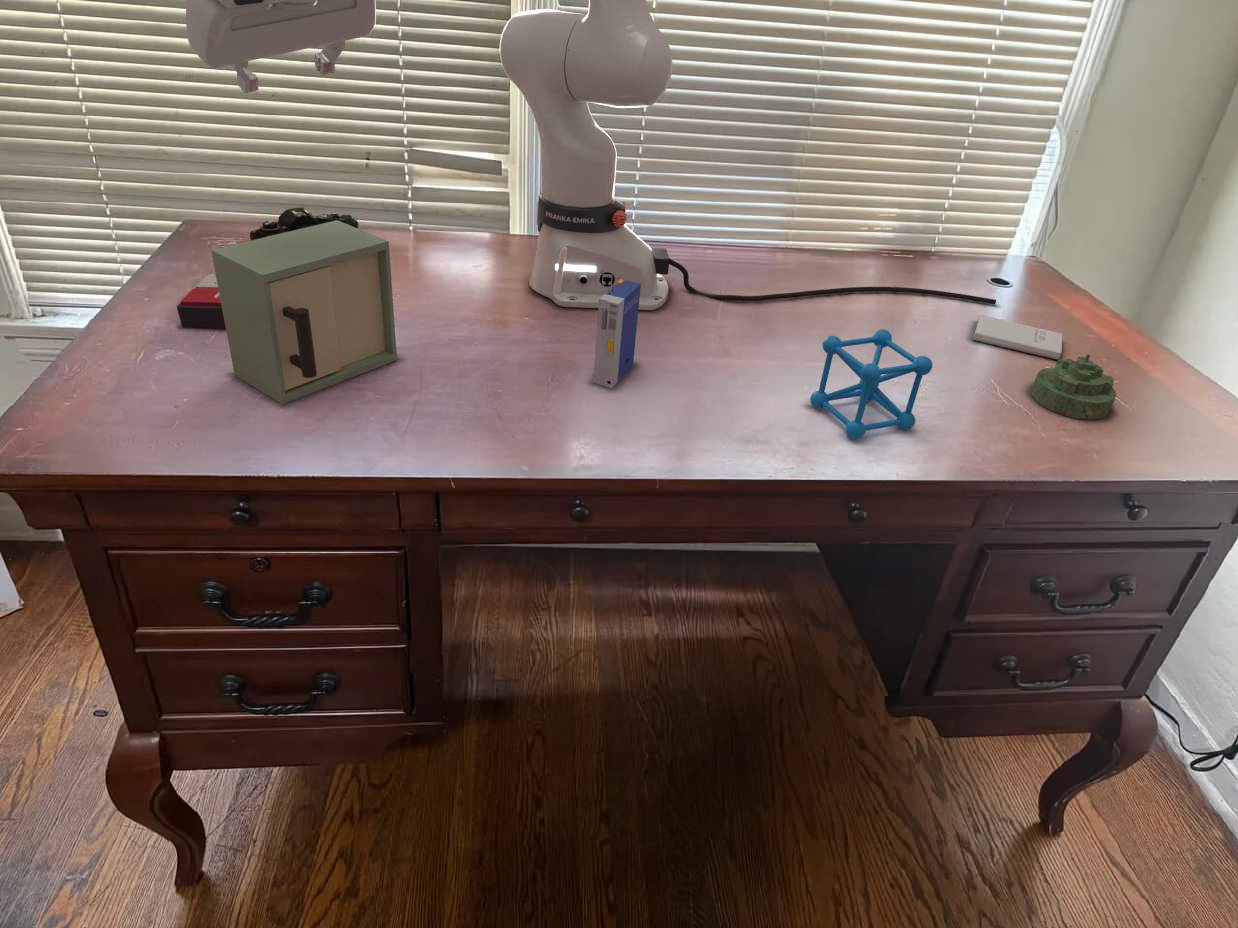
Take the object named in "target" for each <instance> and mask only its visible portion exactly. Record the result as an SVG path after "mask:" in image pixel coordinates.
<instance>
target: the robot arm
mask: <svg viewBox="0 0 1238 928" xmlns="http://www.w3.org/2000/svg"><path fill="white" fill-rule="evenodd" d="M376 3H377V2H376V0H185V23H186V25H185V26H186V35H187V41H188V44H189V46H190V47H191V49H192V51H193V52H194V53H195V54H196V55H197V56H198V58H199V59H200V60H201V61H202V62H203V63H205V64H206V65H207V66H209V67H210V68H212V69H218V68H222V67H226V66H231V67H232V68H233V69H234V71H235V72H236V78H237V79H236V81H237V82H236V83H237V85H238V87H239V88H240V90H241V91H242V92H243V93H245V94H248V93H252V92H257V91H259V86H258V85H259V77H258V76H257V75H256V74H255V73H254V72H253V71H252V69H251V68H250V67H249V62H250V61H255V60H260V59H266V58H271V57H275V56H279V55H284V54H288V53H293V52H298V51H302V50H308V49H313V48H317V47H321V46H323V47H322V49H321V52H316V53H315V54H314V59H315V61H314V67H315V69H316V71H317V72H319V74H320V75H321V76H325V75H331V74H334V73H335V71H336V70H335V68H336V61H337V60H338V58H340V55H341V54H342V52H343V51H344V49H345V48H346V41H350V40H355V39H359V38H365V37H369V36H370V35H371V33H372V32H373V31H374V29H375V28H376V22H377V6H376V5H377V4H376ZM499 57H500V62H501V65H502V68H503V70H504V72H505V75H506V76H507V78H508V79H509V80H510V81H511V82H512V83H513V84H514V85H515V87H516V88H517V89H518V90H519V92H520V93H521V95H522V96H523V98H524V99H525V102H526V103H527V105H528V107H529V109H530V113H531V114H532V116H533V118H534V122H535V124H536V129H537V132H538V138H539V144H540V155H541V161H540V162H541V192H540V194H539V195H538V199H537V204H536V206H537V207H536V225H537V231H538V238H537V245H536V252H535V256H534V262H533V264H532V269H531V272H530V275H529V278H528V285H529V287H530V288H531V290H533V291H534V292H536V293H537V294H539V295H541V296H544V297H546V298H548V299H550V300H551V301H552V302H553V303H554V304H556V305H557V306H559V307H561V308H578V309H579V308H580V309H585V308H586V309H598V306H599V298H601V297H602V296H603V295H604V294H605V293H606V292H607V291H608V290H610V289H611V288H612V287H613V286H614V285H616V284H617V282H618V281H619V280H620V279H623V280H627V281H632V282H636V283H641V288H640V298H639V309H638V311H655V310H657V309H659V308H661V307H662V306H664V304H665V303H666V302H667V300H668V297H669V283H668V281H667V279H666V277H664V275H669V270H670V269H669V268H670V266H672V267H674V268H675V269H677V270H679V271H680V272H681V274H682V277H683V286H684V288H685V289H686V290H687V291H689V293H691V294H694V295H699V296H703V297H707V298H710V299H713V300H718V301H719V300H720V301H737V302H761V301H771V300H782V299H783V300H784V299H794V298H804V297H813V296H822V295H823V296H824V295H833V294H846V293H847V294H848V293H870V292H874V293H875V292H879V293H880V292H881V293H882V292H883V293H887V292H888V293H905V294H917V295H918V294H919V295H927V296H928V295H929V296H935V297H944V298H952V299H959V300H964V301H972V302H977V303H982V304H988V305H994V306H995V305H996V303H997V299H995V298H989V297H983V296H977V295H970V294H963V293H957V292H951V291H943V290H937V289H927V288H917V287H915V288H914V287H903V286H852V287H849V286H848V287H838V288H837V287H836V288H825V289H816V290H815V289H814V290H806V291H805V290H803V291H796V292H782V293H772V294H763V295H761V294H760V295H739V294H738V295H737V294H710V293H704V292H701V291H699V290H697V289H695V288H694V287H693V286H692V285H691V284H690V282H689V279H690V277H689V272H688V270H687V269H686V268H685V267H684V265H682V264H681V263H679V262H677V261H675V260H674V259H671V258H670V257H669V252H668V250H667V248H664V247H663V248H662V247H652V248H651V246H650V245H649V244H648V243H646V242H645V241H644V240H643V239H641V238H640V237H639V236H638V235H637V234H636V233H635V232H634V231H632V229H630V228H629V227H628V226H627V225H626V221H627V218H628V215H627V207H626V202H625V201H624V200H623V201H622V202H620V200H618V199H617V198H615V185H616V183H615V182H616V171H617V159H618V154H617V148H616V146H615V143H614V141H613V139H612V138H611V137H610V136H609V134H608V133H607V132H605V131H604V130H603V129H602V128H601V127H600V126H599V125H598V124H597V122H596V121H595V119H594V118H593V115H592V114H591V113H592V112H591V111H590V107H589V103H592V104H597V105H601V106H602V105H603V106H607V107H612V108H618V109H619V108H620V109H627V108H628V109H629V108H631V109H632V108H646V107H647V108H648V107H652V106H653V105H655V104H656V103H657V102H658V101H659V100H660V99H661V97H662V96H664V94H665V92H666V91H667V88H668V87H669V84H670V81H671V78H672V74H673V55H672V51H671V47H670V44H669V42H668V40H667V38H666V37H665V35H664V34H663V32H662V31H661V30H660V29H659V28H658V26H657V25H656V22H655V21H654V19H653V17H652V15H651V12H650V10H649V7H648V3H647V0H588V10H587V14H584V13H579V12H578V13H577V12H570V11H564V10H563V11H562V10H557V9H550V8H543V9H542V8H541V9H532V10H524V11H520V12H517V13H514V14H513V15H512V16H511V17H510V19H509V20H508V21H507V23H506V25H504V28H503V31H502V33H501V37H500V42H499Z"/></svg>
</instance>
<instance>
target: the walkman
mask: <svg viewBox="0 0 1238 928" xmlns="http://www.w3.org/2000/svg"><path fill="white" fill-rule="evenodd" d="M640 288H641V283H636V282H632V281H627V280H623V279H620V280H619V281H618V282H617V284H616V285H614V286H613V287H612V288H611V289H610V290H608V291H607V292H606V293H605V294H604V295H603V296H602V297H601V298H599V306H598V308H597V323H596V324H597V325H596V336H595V337H596V338H595V352H594V367H593V368H594V369H593V380H592V381H593V384H595V385H600V386H602V387H605V388H609V389H613V388H614V386H615V385H616V384H618V381H620V380H621V378H623V376H624V375H625V374H626V373H627V372H628V371H629V370H630V368H632V367H633V366H634V363H635V361H634V360H635V350H636V341H637V328H638V320H639V319H638V318H639V310H638V309H639V298H640Z"/></svg>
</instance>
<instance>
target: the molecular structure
mask: <svg viewBox="0 0 1238 928" xmlns="http://www.w3.org/2000/svg"><path fill="white" fill-rule="evenodd" d="M891 333H892V332H890V331H889V330H887V329H884V328H882V329H878V330H876V331H875V332H874V333H873V335H872V336H869V337H860V338H853V339H847V340H846V339H845V340H841V338H839V336H836V335H829V336H827V337H825V338H824V340H823V341H822V350H823V351H824V352H825V353H826V356H825V357H826V358H825V362H824V366H823V369H822V370H823V371H822V373H821V378H820V383H819V387H818V390H815V391H814V392H813V393H812V394H811V396H810V399H809V401H810V404H811V406H812V407H813V408H815V409H817V410H819V409H821V410H822V409H826V411H828V412H829V413H830V414H832V415H833V416H834V417H835V418H836V419H837V420H839V421H840V422H841V423H842V424H844V425H845V433H846V435H847V437H849V438H850V439H852V440H858V439H861V438H863V436H864V435H865V434H866V432H867V431H871V430H872V431H873V430H877V429H882V428H888V427H895V426H897V427H898V428H899V429H901V430H903V431H908V430H910V429H912V428H914V426H915V424H916V417H915V414H913V413H912V412H913V408H914V405H915V403H916V398H917V395H918V391H919V389H920V385H921V382H922V379H923V376H926V375H928V374H929V373H931V371H932V369H933V361H932V359H931V358H930V357H929V356H926V355H920V356H917V357H916V356H914V355H913V354H912V353H911V352H909V351H907V350H905V349H904V348H902V347H901V346H899V345H898V344H897V343H895V342H893V340H892V339H893V336H892V334H891ZM865 344H874V346H875V347H876V348H875V351H874V355H873V358H872V362H868V363H866V364H864V363H863V362H861V361H860V360H858V359H857V358H856V357H854V356H853V355H852V354H850V353H849V352H847V351H846V350H845V349H843V347H851V346H858V345H865ZM887 347H889V349H891V350H893V351H894V352H896V353H897V354H899V355H901V356H902V357H903V358H905V359H906V360H908V361H909V362H910V364H903V365H895V366H890V367H883V368H882V367H879V364H880V360H881V356H882V352H883V349H884V348H887ZM834 355H837V356H838V357H839V359H841V361H842V362H844V363H845V364H846V365H847V366H848V367H849V369H851V371H852V372H853V373H855V375H857V377H858V378H859V383H856V384H853V385H850V386H847V387H844V388H841V389H838V390H836V391H835V390H834V391H831V392H828V393H827V392H826V387H827V382H828V379H829V378H828V377H829V375H830V369H831V365H832V361H833V357H834ZM911 373H914V374H915V378H914V380H913V383H912V387H911V390H910V394H909V396H908V397H909V398H908V401H907V404H906V407H905V410H904V411H901V410H900V409H899V408H898V407H897V406H896V405H895V404H894V403H893V401H892V400H890V398H889V397H888V396H887V395H886V394H885V393H884V392H883V391H882V390H881V389H880V388H879V386H880V383H883V382H887V381H889V380H892V379H895V378H898V377H902V376H905V375H908V374H911ZM856 397H860V399H859V402H858V406H857V411H856V414H855V418H854V419H852V420H850V419H848V418H847V417H846V416H845V415H843V413H841V412H840V411H839V410H837V408H835V407H834V406H833V405H832V404H830V402H831V401H838V400H843V399H850V398H856ZM868 401H869V402H870V401H875V402H876V403H877V404H878V405H880V406H881V407H882V408H884V409H885V410H886V411H887V412H889V413H890V414H891V415H893V416H894V417H895V419H891V420H885V421H884V420H883V421H879V422H873V423H867V424H865V423H864V422H863V421H862V420H863V418H864V413H865V411H866V410H865V409H866V406H867V403H868Z"/></svg>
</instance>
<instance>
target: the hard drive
mask: <svg viewBox="0 0 1238 928" xmlns="http://www.w3.org/2000/svg"><path fill="white" fill-rule="evenodd" d="M977 319H978V320H977V323H976V327H975V331H974V334H973V338H972V340H973V341H976V342H980V343H984V344H989V345H994V346H997V347H1001V348H1005V349H1010V350H1014V351H1018V352H1021V353H1027V354H1029V355H1030V354H1031V355H1035V356H1039V357H1042V358H1043V357H1044V358H1048V359H1052V360H1053V359H1054V360H1057V361H1058V360H1060V358H1061V355H1062V352H1063V350H1062V349H1063V333H1062V332H1061V333H1060V332H1057V331H1053V330H1048V329H1044V328H1039V327H1036V326H1031V325H1027V324H1022V323H1018V322H1014V321H1010V320H1005V319H1001V318H997V317H993V316H989V315H984V314H979V317H978V318H977Z"/></svg>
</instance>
